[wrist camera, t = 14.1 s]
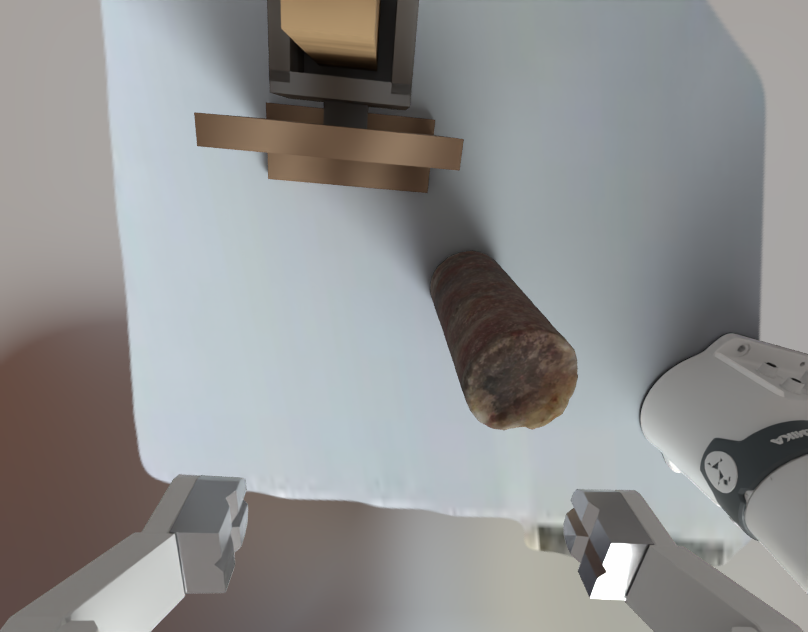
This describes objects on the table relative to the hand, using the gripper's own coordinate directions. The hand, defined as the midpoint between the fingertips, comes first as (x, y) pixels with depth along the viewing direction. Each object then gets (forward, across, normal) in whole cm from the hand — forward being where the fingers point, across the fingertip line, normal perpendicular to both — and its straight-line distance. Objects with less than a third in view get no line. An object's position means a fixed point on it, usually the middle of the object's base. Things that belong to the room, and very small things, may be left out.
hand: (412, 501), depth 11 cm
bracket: (+33, -4, +11) cm, 35 cm away
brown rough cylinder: (+33, +8, -5) cm, 35 cm away
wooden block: (+26, -4, +14) cm, 30 cm away
